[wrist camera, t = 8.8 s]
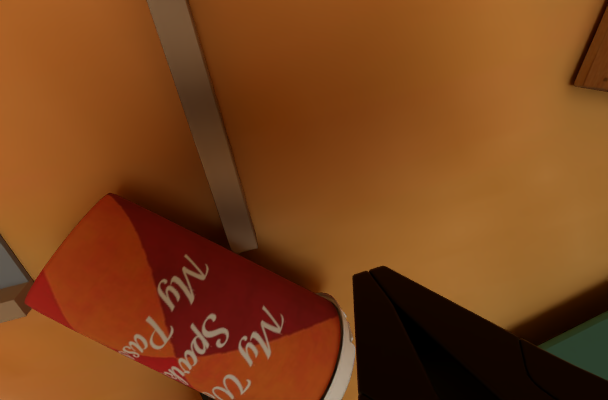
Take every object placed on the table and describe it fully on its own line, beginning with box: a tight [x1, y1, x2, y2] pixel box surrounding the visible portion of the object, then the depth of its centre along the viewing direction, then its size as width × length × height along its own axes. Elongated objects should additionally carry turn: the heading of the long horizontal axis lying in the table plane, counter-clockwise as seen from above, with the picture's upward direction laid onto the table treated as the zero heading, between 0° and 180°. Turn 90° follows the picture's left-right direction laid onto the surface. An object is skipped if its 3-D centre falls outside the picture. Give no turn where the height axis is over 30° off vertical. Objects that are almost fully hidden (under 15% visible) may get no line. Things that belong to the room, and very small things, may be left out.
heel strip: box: [147, 0, 258, 254], centre depth 17 cm, size 16×2×2 cm, turn 11°
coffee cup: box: [24, 193, 355, 400], centre depth 18 cm, size 8×8×15 cm
